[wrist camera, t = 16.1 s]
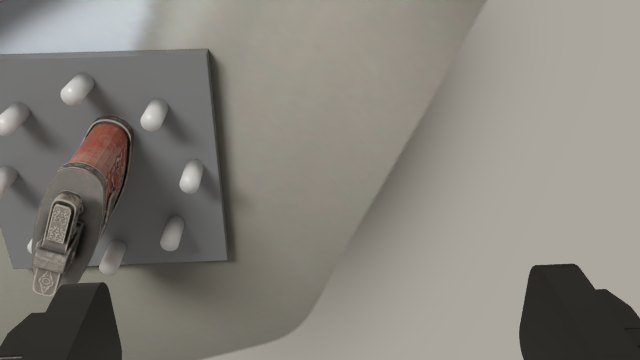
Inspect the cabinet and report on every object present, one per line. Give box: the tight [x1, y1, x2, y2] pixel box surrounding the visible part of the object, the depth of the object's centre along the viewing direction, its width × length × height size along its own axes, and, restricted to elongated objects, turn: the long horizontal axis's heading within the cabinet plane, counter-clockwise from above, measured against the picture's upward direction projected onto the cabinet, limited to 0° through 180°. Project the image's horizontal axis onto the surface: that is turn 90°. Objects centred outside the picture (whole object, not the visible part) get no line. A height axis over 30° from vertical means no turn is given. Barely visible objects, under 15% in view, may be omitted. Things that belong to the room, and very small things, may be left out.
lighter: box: [31, 115, 134, 296], centre depth 35 cm, size 8×3×10 cm, turn 158°
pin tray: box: [0, 49, 229, 276], centre depth 39 cm, size 15×15×4 cm
